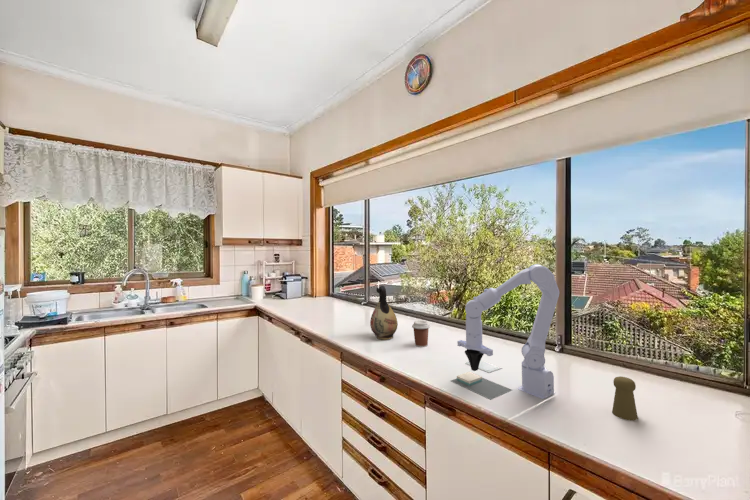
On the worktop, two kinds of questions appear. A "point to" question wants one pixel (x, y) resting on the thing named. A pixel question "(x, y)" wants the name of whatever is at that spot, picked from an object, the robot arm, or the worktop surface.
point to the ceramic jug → (383, 318)
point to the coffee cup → (421, 333)
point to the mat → (485, 388)
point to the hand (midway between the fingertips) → (474, 370)
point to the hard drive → (486, 366)
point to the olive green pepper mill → (624, 399)
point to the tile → (469, 378)
